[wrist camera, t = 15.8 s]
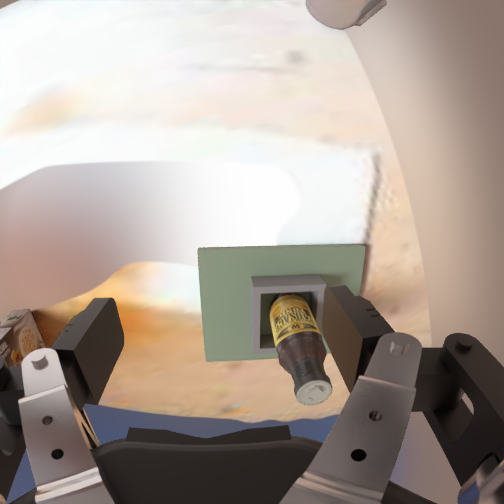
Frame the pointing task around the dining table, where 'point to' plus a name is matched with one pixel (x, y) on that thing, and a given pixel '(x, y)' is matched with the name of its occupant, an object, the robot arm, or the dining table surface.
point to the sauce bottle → (300, 347)
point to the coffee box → (19, 337)
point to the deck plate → (266, 291)
